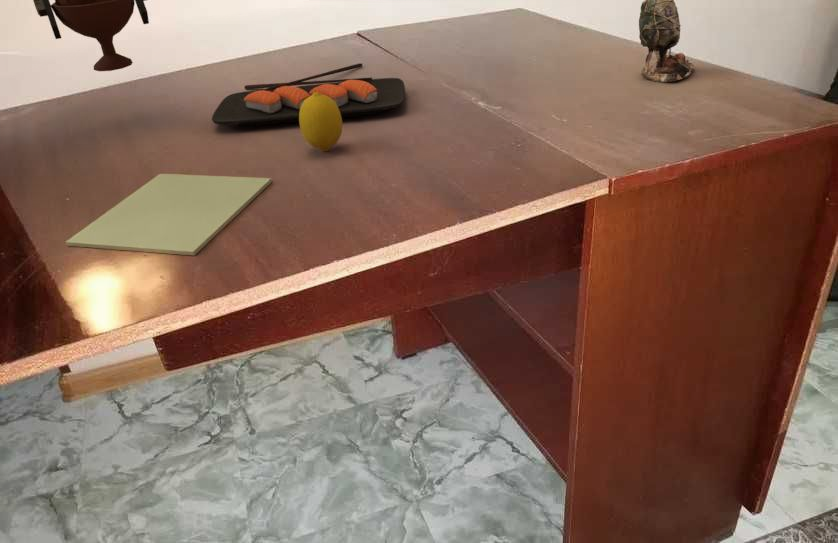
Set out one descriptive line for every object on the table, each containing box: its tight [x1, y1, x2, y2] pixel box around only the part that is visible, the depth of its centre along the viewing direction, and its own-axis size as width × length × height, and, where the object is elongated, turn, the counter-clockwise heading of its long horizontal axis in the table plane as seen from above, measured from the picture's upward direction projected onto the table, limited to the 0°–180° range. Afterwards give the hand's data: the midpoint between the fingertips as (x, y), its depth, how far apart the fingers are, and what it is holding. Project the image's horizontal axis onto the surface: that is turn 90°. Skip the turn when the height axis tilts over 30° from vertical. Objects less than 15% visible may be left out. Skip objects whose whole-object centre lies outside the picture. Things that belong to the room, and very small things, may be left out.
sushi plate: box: [211, 62, 406, 127], centre depth 114 cm, size 29×30×4 cm
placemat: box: [65, 173, 273, 257], centre depth 81 cm, size 16×18×1 cm
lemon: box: [298, 92, 343, 152], centre depth 91 cm, size 6×6×8 cm
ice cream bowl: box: [50, 0, 136, 72], centre depth 99 cm, size 11×11×15 cm
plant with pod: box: [638, 0, 695, 83], centre depth 103 cm, size 8×11×20 cm
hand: (102, 25), depth 98 cm, fingers closed on ice cream bowl, 11 cm apart
